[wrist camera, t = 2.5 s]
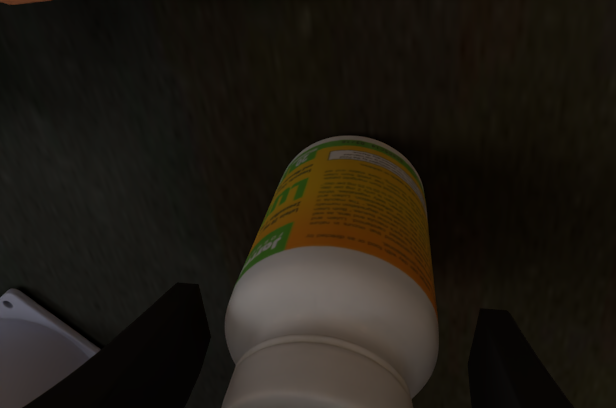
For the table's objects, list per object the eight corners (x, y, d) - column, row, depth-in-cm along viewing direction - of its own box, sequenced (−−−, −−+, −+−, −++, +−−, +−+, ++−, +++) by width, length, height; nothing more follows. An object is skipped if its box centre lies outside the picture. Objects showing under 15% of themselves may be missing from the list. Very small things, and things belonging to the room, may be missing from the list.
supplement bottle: (304, 109, 15) (201, 327, 7) (451, 161, 15) (512, 433, 7) (266, 227, 18) (164, 473, 10) (389, 270, 18) (385, 546, 10)
